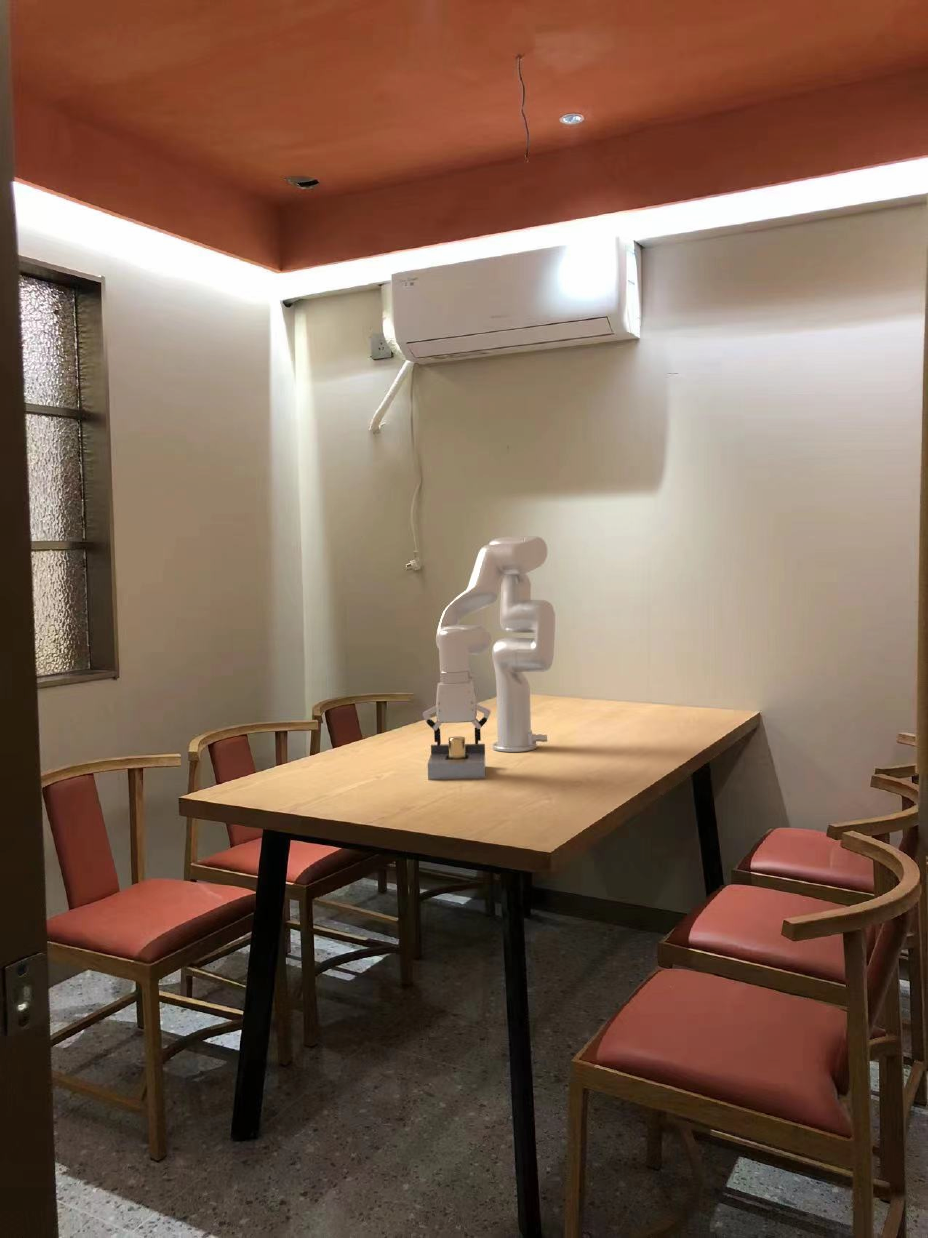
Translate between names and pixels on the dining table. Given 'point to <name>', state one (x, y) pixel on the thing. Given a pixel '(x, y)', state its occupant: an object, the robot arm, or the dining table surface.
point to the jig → (457, 763)
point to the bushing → (456, 748)
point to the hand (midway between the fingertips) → (457, 744)
